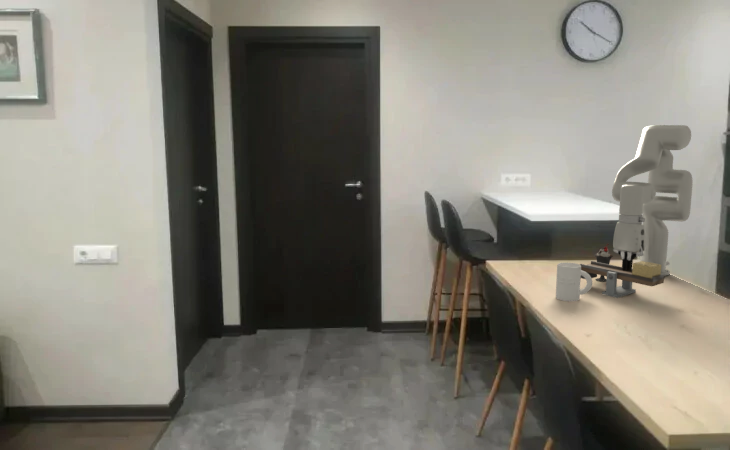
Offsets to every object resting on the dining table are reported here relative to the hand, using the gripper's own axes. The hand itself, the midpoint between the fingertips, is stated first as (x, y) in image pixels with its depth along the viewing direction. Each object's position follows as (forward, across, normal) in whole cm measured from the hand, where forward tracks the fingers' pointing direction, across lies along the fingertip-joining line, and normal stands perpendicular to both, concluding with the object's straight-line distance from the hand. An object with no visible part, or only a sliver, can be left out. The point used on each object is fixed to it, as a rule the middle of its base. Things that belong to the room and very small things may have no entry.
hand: (626, 270), depth 221 cm
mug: (+9, +8, +19) cm, 23 cm away
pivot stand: (+9, +2, 0) cm, 9 cm away
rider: (+1, -7, 0) cm, 8 cm away
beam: (+6, +3, 0) cm, 6 cm away
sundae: (+9, +16, -12) cm, 22 cm away
